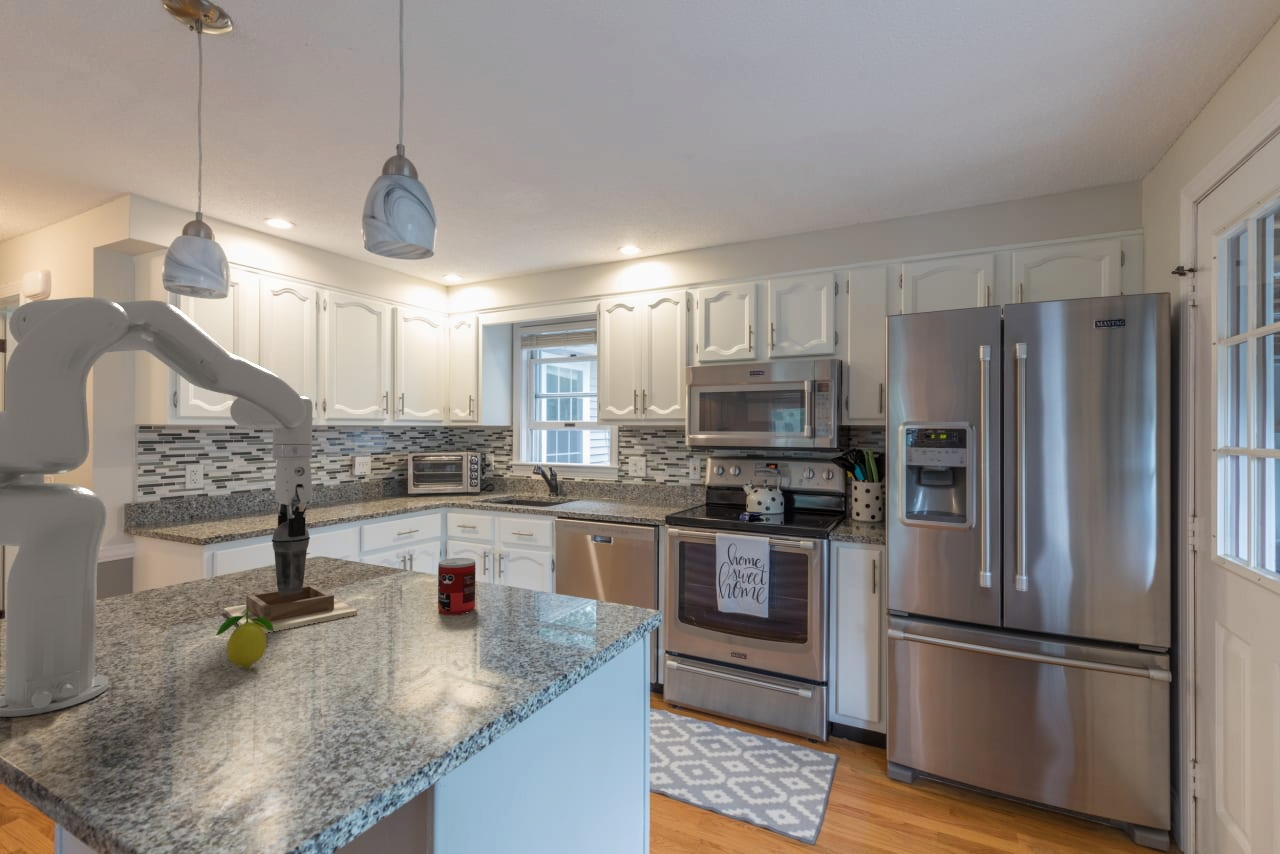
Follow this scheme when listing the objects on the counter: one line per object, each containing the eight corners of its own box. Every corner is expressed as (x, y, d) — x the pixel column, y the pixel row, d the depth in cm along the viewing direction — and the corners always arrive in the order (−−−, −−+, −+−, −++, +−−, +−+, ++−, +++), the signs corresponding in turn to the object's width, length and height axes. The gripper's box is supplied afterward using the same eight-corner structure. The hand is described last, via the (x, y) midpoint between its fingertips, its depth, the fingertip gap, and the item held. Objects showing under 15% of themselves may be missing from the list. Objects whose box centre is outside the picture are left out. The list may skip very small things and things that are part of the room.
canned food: (435, 607, 137) (436, 559, 137) (472, 604, 140) (472, 556, 140) (440, 617, 130) (440, 566, 130) (477, 612, 133) (478, 562, 133)
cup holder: (357, 614, 131) (357, 596, 131) (250, 636, 117) (251, 615, 117) (321, 595, 146) (321, 579, 146) (223, 612, 132) (223, 594, 132)
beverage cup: (316, 588, 135) (317, 499, 135) (294, 597, 128) (296, 502, 128) (285, 588, 135) (287, 499, 136) (262, 596, 128) (264, 502, 129)
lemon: (215, 677, 97) (216, 615, 97) (229, 664, 103) (230, 605, 103) (262, 673, 99) (263, 612, 99) (273, 660, 104) (274, 602, 104)
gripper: (324, 453, 129) (323, 537, 128) (298, 451, 141) (297, 528, 140) (285, 453, 123) (284, 541, 123) (261, 451, 135) (260, 531, 135)
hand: (291, 533), depth 132 cm, fingers closed on beverage cup, 6 cm apart
